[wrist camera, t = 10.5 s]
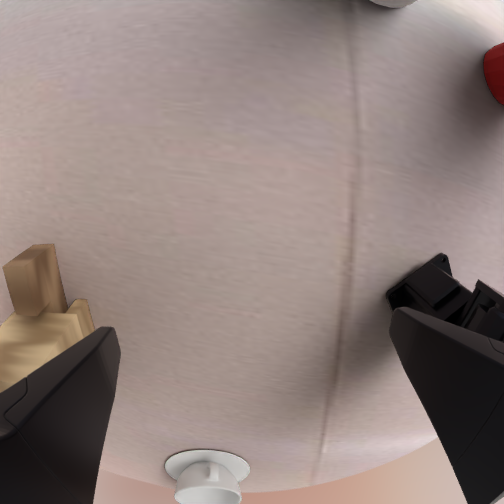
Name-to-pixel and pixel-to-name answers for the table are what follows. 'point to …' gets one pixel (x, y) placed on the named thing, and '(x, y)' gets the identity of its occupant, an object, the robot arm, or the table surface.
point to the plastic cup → (495, 71)
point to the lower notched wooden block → (35, 282)
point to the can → (393, 3)
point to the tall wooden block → (39, 340)
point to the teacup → (207, 476)
